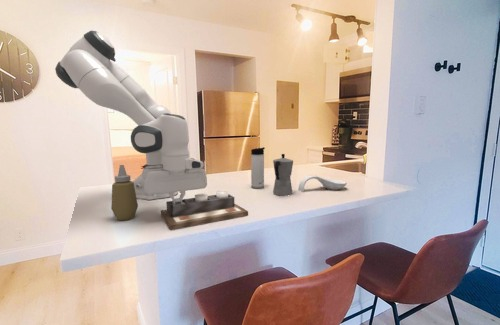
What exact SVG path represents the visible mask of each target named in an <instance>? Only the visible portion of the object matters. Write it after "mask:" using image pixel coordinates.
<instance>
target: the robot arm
mask: <svg viewBox="0 0 500 325" xmlns="http://www.w3.org/2000/svg"><path fill="white" fill-rule="evenodd" d="M115 56H116V51H115V47H114V46H113V44H112V42H111V41H110V40H109V39H108V37H107V36H105V35H104V34H102V33H100V32H98V31H96V30H90V31H88V32H86V33H84V34H83V36H82V37H81V38H79V39H78V40H77V41H76V42H75V43H73V44H72V46H70V48H69V50H68V51H67V52H66V53H65V54H64V55H63V57H62V59H61V60H60V61H58V62H57V64H56V66H55V69H54V70H55V74H56V76H57V78H59V80H60V81H61V82H62V83H64V84H65V85H67V86H69V87H71V88H72V89H78V90H80V91H81V93H82V94H83V95H84V96H85V97H86V98H88V99H89V100H90V101H91V102H93V103H94V104H95V105H98V106H100V107H102V108H106V109H110V110H114V111H116V112H119V113H122V114H124V115H125V116H127V117H128V118H130V119H131V121H133V122H134V123H135V124H136V125H137V126H136V127H133V129H132V131H131V133H130V143H131V146H132V147H133V149H134V150H135V151H137V152H139V154H140V153H141V154H145V159H146V164H144V165H141V166H140V167H141V168H140V169H142V171H141V172H142V173H141V174H140V175H138V176H137V177H136V178H135V179H134V180H133V181H132V182H133V183H134V187H135V192H136V198H137V199H140V200H147V201H151V200H152V201H153V200H157V199H165V198H169V197H170V198H171V201H172V202H173V205H178V204H182V199H184V197H185V196H186V191H193V190H195V191H196V190H202V189H206V188H207V186H208V177H207V172H206V171H205V169H204V166H205V164H204V162H203V161H202V160H200V159H199V160H198V159H195V158H192V157H190V151H189V148H188V147H189V141H190V139H189V138H190V137H189V127H188V123H187V119H186V118H185V117H184V116H182V115H179V114H173V113H171V112H172V111H170V110H169V109H168V108H167V107H166V106H163V105H159V104H158V103H157V102H156V101H155V100H154V99H153V98H152V97H151V96H150V94H148V92H147V91H146V89H145V88H143V87H142V86H141V85H140V84H139V83H138V82H137V81H136V80H135V79H134V78H132V76H131V75H129V74H128V72H126V71H125V70H124V69H123V68H121V67H120V66H118V64H116V63H114V62H116V60H117V59H116V58H115ZM178 193H180V196H178V198H175V196H176V195H178Z"/></svg>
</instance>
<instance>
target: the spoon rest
mask: <svg viewBox="0 0 500 325" xmlns="http://www.w3.org/2000/svg"><path fill="white" fill-rule="evenodd" d="M313 179H314V180H317V181H318V182H319V183H320V184H321V185H322V186H323V187H324V188H325V189H326V188H327V189H326V190H329V189H332V190H331V191H337V190H338V189H339V190H342V189H343V188H345V187H346V186H347V184H348V183H347V182H346V181H344V180H339V179H332V178H323V177H320V176H317V175H314V174H313V175H312V174H311V175H307V176H305V177H303V178H302V179H301V181H300V182H299V184H298V190H299V191H300V192H304V193H305V185H306V183H307V182H308V181H309V180H313ZM339 190H338V191H339Z"/></svg>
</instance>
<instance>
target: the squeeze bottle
mask: <svg viewBox="0 0 500 325" xmlns="http://www.w3.org/2000/svg"><path fill="white" fill-rule="evenodd" d="M138 208H139V205H138V198H136V192H135V187H134V183H133V181H132V180H131V175H130V174H127V171H126V168H125V165H124V164H120V165H119V168H118V174H117V175H115V176H114V183H112V186H111V211H112V214H113V215H114V218H115V219H116V220H117V221H126V220H131V219H133V218H135V217H136V213H137V212H138V211H137V210H138Z"/></svg>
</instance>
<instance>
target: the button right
mask: <svg viewBox="0 0 500 325" xmlns="http://www.w3.org/2000/svg"><path fill="white" fill-rule="evenodd" d="M228 194H229V191H227V190H219V191H216V194H215V195H216V198H218V199H221V198H228Z"/></svg>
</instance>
